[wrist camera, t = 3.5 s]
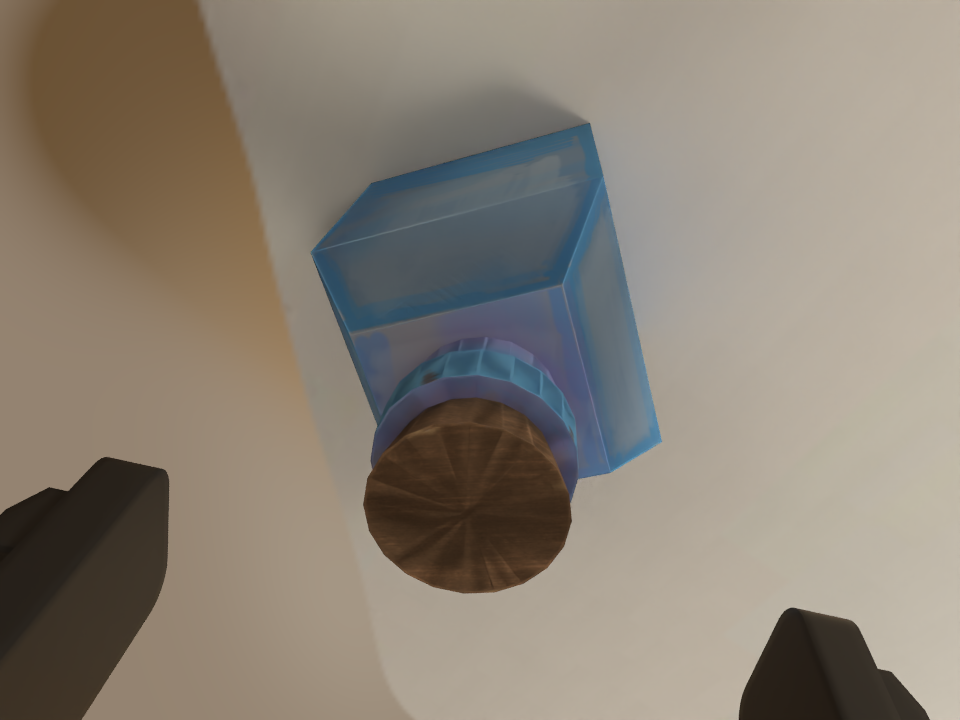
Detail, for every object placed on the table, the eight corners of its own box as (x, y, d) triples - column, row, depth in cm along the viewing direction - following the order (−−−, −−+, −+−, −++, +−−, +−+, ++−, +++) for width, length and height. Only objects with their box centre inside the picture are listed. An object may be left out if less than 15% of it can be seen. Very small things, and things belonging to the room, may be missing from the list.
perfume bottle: (437, 375, 25) (346, 686, 14) (371, 183, 22) (199, 378, 11) (635, 331, 23) (707, 633, 13) (589, 122, 21) (628, 276, 10)
